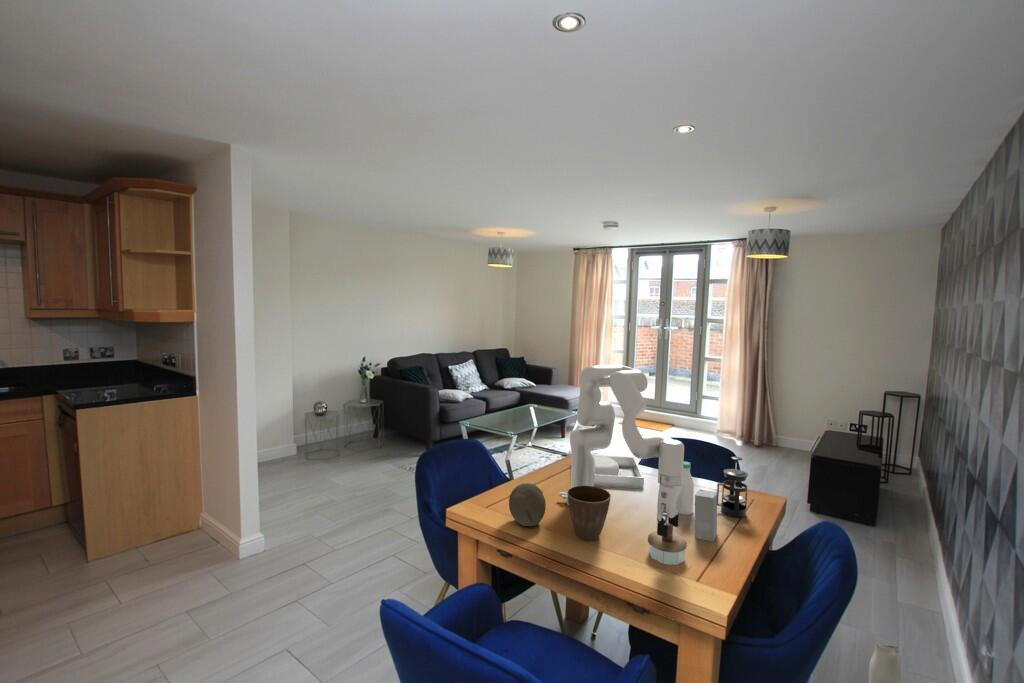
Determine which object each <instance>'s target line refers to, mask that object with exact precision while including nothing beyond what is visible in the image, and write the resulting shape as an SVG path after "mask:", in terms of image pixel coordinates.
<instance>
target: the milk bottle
mask: <svg viewBox="0 0 1024 683" xmlns="http://www.w3.org/2000/svg"><path fill="white" fill-rule="evenodd" d="M691 465H692V464H691V462H690V461H689V462H688V461H683V483H682V509H681V511H680V512H679V514H678V515H684V516H685V515H691V514H692V513H693V511H694V510H693V509H694V494H695V493H694V492H695V491H694V490H695V489H694V488H695V484H694V479H693V477H692V475H691V469H692V468H691Z"/></svg>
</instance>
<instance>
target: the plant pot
mask: <svg viewBox="0 0 1024 683" xmlns="http://www.w3.org/2000/svg"><path fill="white" fill-rule="evenodd" d="M567 492H568V502H569V505H568V507H569V513H570V514H569V515H570V518H571V522H572V523H571V524H572V525H573V529H574V532H575V535H576V537H577V538H578V537H579V538H578V539H580V540H582V539H583V540H582V541H586V540H587V542H594V541H596V540H598V539H599V538H600V536H601V533H602V531H603V529H604V526H605V523H606V520H607V516H608V512H609V508H610V502H611V497H612V495H611V493H610V492H609V491H607V490H606V489H604V488H601V487H598V486H595V485H594V486H577V487H573V488H571V487H570V488H569V489H568V490H567ZM593 540H594V541H593Z"/></svg>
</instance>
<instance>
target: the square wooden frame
mask: <svg viewBox="0 0 1024 683" xmlns="http://www.w3.org/2000/svg"><path fill="white" fill-rule="evenodd" d="M591 455H592V456H604V457H608V458H611V459H613V460H615V461H616V462H617V463H618V465H619V467H621V468H623V467H624V468H632V469H633V471H634V474H635V476H629V475H621V476H618V475H616V476H614V475H597V474H595V478H594V486H596V487H598V486H599V487H615V488H630V489H632V488H633V489H644V484H645V477H644V474H643V473H642V470H641V468H640V467H639V464H638V462H637V460H636V457H635V456H619V455H616V456H615V455H603V454H602V455H601V454H591Z"/></svg>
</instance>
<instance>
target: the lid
mask: <svg viewBox="0 0 1024 683" xmlns="http://www.w3.org/2000/svg"><path fill="white" fill-rule="evenodd" d="M667 525H668V536H667V537H663V536H660V535H657V531H653V532H651V533H649V534H648V535H647V542H648V544H650V545H651V546H653V547H654V548H656V549H659V550H662V551H666V552H681V551H684V550H685V551H686V549H687V546H688V545H687V543H688V542H687V540H686V539H685V538H684V537H682V536H681V535H678V534H676V533H673V531H674V526H673V525H672V524H670V523H668V522H667Z"/></svg>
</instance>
